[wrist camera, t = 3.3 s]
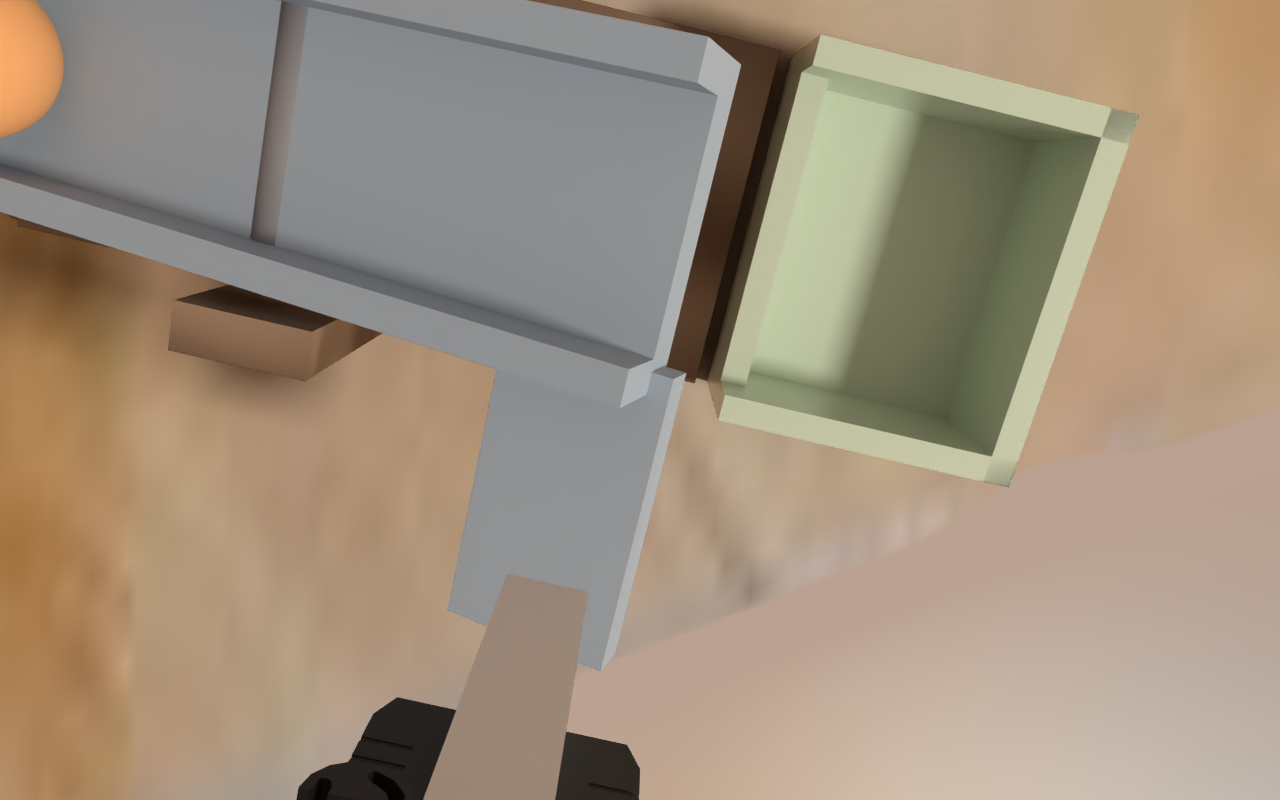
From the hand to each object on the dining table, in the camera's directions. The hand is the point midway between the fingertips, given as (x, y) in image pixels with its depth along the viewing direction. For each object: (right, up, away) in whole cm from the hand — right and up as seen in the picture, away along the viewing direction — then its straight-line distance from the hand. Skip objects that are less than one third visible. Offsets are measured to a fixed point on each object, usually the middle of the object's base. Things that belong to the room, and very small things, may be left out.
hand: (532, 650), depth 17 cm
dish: (+10, +9, +15) cm, 20 cm away
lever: (-6, +8, +6) cm, 12 cm away
